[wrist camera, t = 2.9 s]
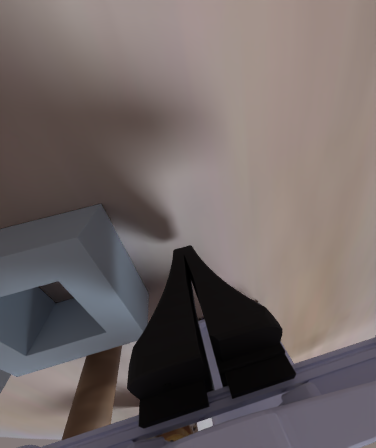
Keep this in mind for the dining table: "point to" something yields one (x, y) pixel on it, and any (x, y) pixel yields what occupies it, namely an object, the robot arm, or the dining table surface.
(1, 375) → the wall
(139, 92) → the dining table surface
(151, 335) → the robot arm
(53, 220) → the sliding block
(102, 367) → the dowel
